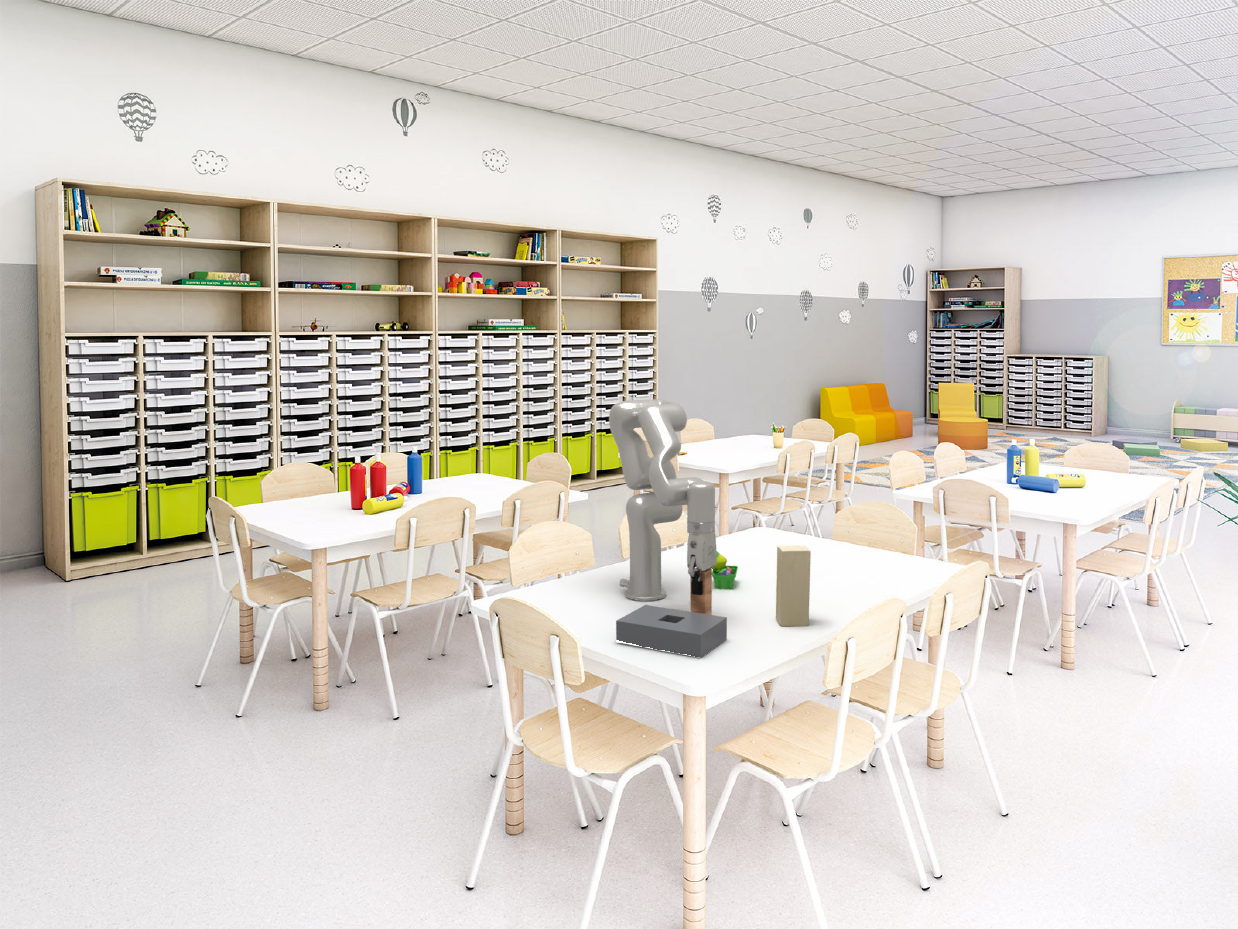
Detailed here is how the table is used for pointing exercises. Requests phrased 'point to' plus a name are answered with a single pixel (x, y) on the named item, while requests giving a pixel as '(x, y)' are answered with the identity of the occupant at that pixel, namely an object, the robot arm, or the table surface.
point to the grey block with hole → (672, 630)
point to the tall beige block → (793, 585)
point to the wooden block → (703, 595)
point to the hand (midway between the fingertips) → (700, 591)
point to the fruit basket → (723, 573)
